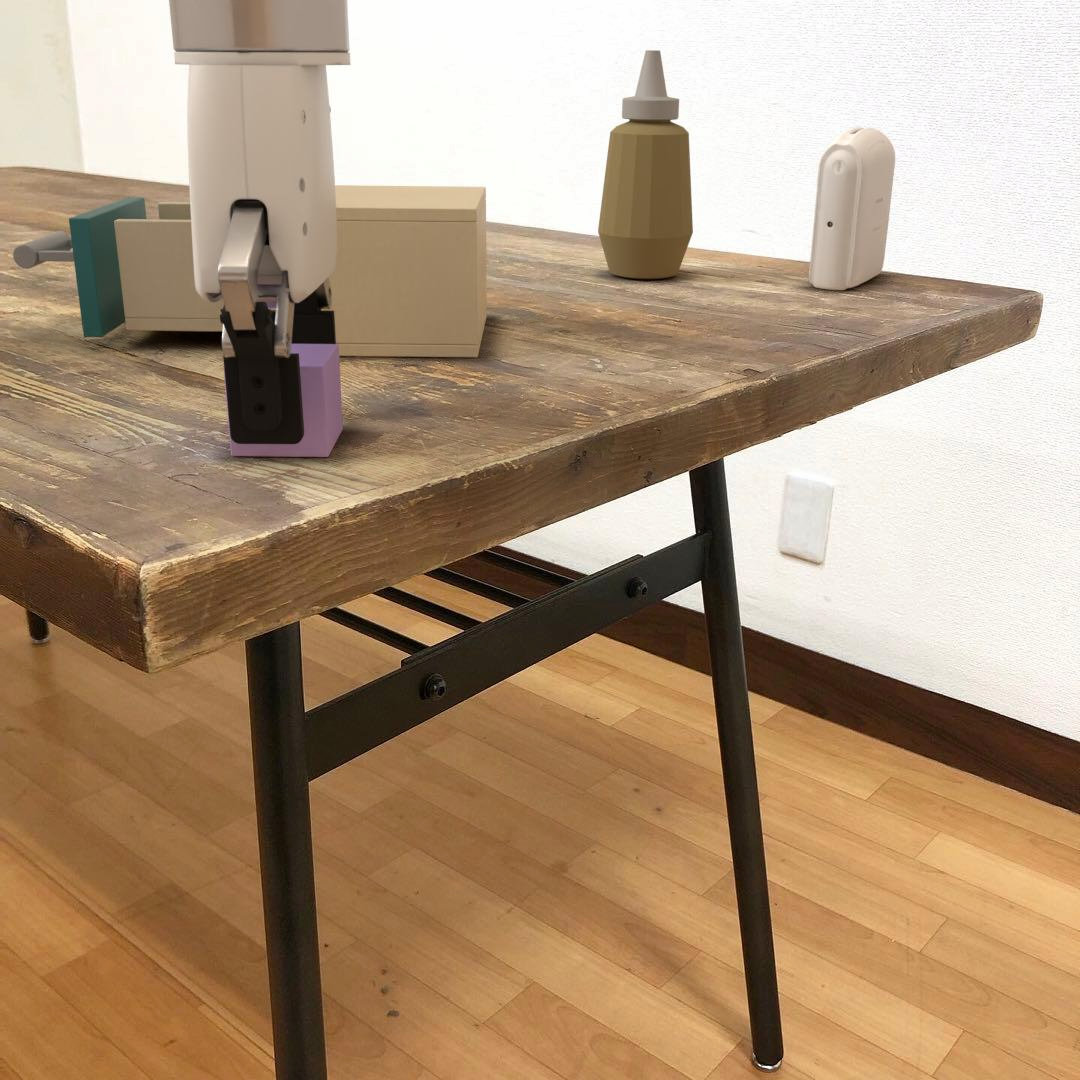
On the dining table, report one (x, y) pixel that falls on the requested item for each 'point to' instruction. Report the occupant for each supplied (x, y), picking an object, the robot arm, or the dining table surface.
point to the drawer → (130, 268)
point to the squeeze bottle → (647, 183)
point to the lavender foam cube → (310, 406)
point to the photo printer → (852, 209)
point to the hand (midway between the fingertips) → (289, 412)
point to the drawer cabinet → (409, 271)
